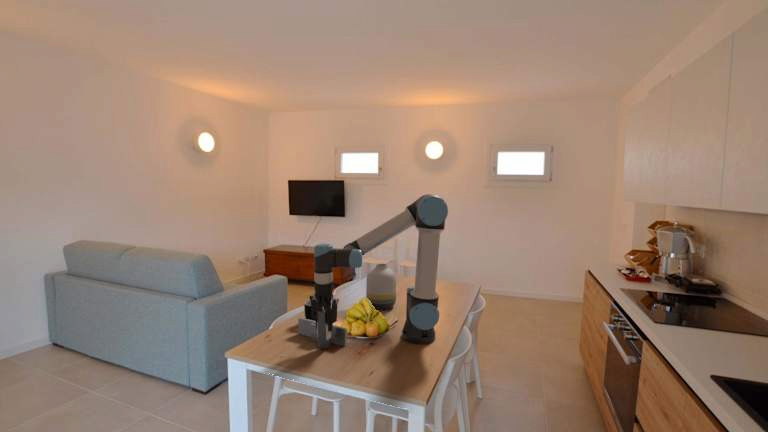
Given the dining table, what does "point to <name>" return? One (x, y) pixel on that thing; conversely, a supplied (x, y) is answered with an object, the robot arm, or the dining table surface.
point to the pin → (322, 329)
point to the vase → (381, 287)
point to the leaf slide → (306, 327)
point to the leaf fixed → (335, 336)
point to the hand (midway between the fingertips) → (324, 337)
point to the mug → (308, 310)
